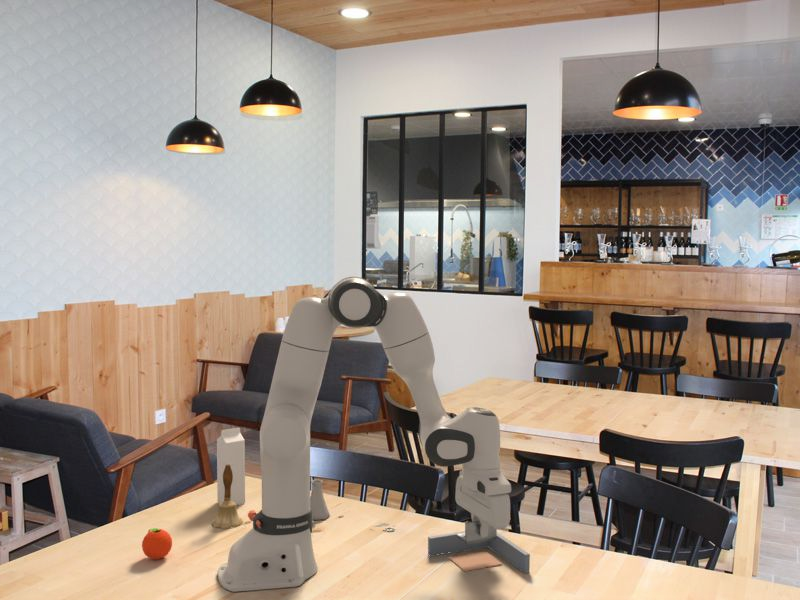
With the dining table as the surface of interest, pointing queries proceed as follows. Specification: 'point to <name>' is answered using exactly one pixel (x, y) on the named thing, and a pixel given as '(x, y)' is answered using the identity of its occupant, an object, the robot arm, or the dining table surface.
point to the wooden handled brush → (227, 505)
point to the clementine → (157, 543)
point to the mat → (475, 561)
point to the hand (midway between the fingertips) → (480, 534)
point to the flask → (318, 501)
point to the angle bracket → (476, 533)
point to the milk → (231, 464)
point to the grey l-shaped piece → (500, 546)
